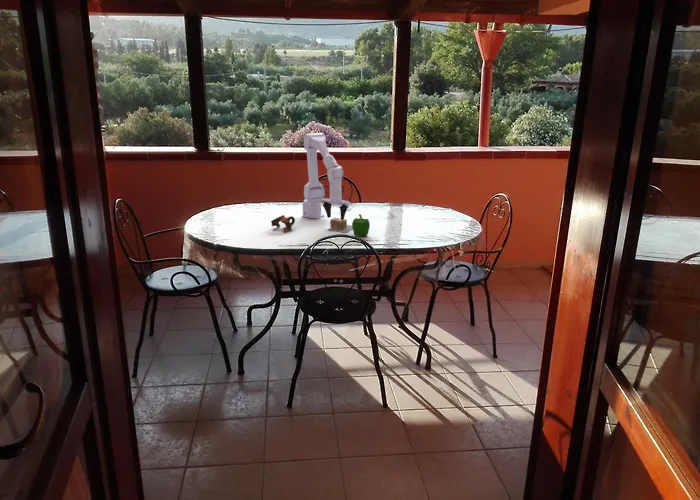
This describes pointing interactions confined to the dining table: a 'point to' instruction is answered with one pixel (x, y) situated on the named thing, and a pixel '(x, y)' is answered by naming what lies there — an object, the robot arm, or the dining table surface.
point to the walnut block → (338, 223)
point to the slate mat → (345, 230)
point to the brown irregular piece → (283, 220)
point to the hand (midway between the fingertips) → (335, 218)
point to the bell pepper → (360, 226)
